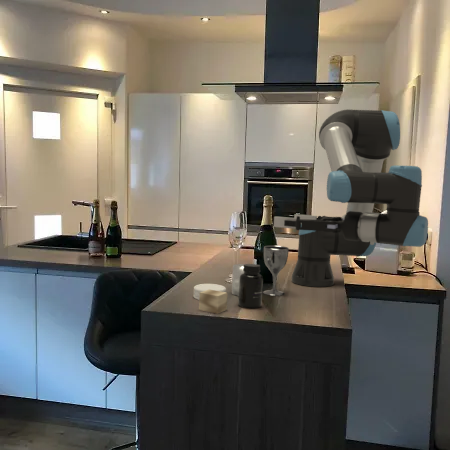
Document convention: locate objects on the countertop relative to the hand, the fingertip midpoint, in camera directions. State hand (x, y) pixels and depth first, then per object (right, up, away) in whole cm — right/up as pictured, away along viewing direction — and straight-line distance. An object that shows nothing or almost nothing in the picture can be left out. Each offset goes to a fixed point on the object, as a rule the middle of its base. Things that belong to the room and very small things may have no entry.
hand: (284, 220), depth 136 cm
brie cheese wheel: (-21, -24, +15) cm, 36 cm away
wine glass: (-1, -24, +25) cm, 34 cm away
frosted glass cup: (-11, -23, +22) cm, 34 cm away
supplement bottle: (-9, -25, +7) cm, 28 cm away
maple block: (-20, -25, +1) cm, 32 cm away
